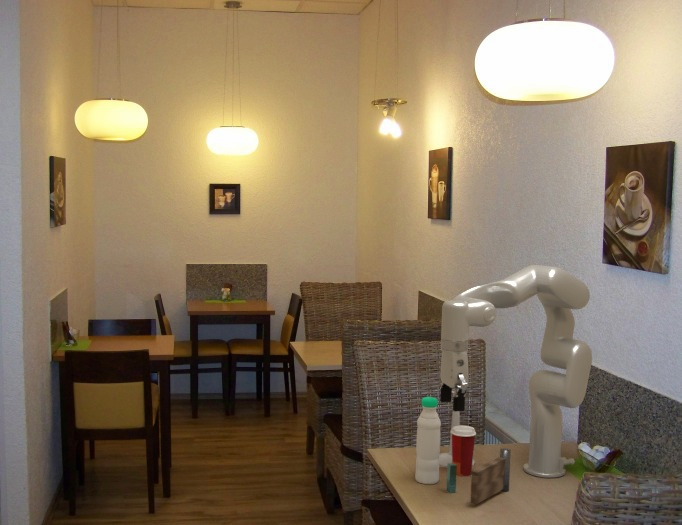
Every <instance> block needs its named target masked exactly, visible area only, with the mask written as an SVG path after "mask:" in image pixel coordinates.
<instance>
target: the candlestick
mask: <svg viewBox="0 0 682 525" xmlns="http://www.w3.org/2000/svg"><path fill="white" fill-rule="evenodd" d="M455 386H458V385H455ZM458 390H459V389H457V392H458ZM453 397H455V395H454V390H452V398H453ZM451 414H452V415H451V416H452V417H451V427H450V430H451V429H452V428H453V427H454V426H461V411H453V410H452V413H451ZM449 439H450V440H449V448H448V451H447V452H442V453H440V454H439V461H440V464H439V467H441V468H446V469H447V463H452V433H450V438H449ZM475 464H476V463H475V459H473V461H472V468H473V467H474V466H475Z"/></svg>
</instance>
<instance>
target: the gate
mask: <svg viewBox="0 0 682 525" xmlns="http://www.w3.org/2000/svg"><path fill="white" fill-rule="evenodd" d="M504 462H505V458H500V456H498V457H497V458H494V459H492V460H491V461H489V462H487V463H485V464H482V465H481V466H479V467H476V468H474V469H472V470H471V475H470V476H471V479H470V480H471V485H470V504H472V505H477V504H479V503H481V502H482V501H485V500H486V499H488V498H490V497H491V496H494V495H496V494H497V493H499V492H501V490H503V484H504Z"/></svg>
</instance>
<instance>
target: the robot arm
mask: <svg viewBox="0 0 682 525" xmlns="http://www.w3.org/2000/svg"><path fill="white" fill-rule="evenodd" d="M534 296H537V299H538V300H539V302H540V304H541V305H542V308H543V309H544V311H545V315H546V322H545V323H546V324H545V330H544V334H543V338H542V344H541V348H540V359H541V361H542V362H543V364H545V365H547V366H550V367H553V368H557V369H561V370H566V371H565V373H561V372H557V371H553V370H549V369H540V370H536V371H535V372H533V373H532V375H531V376H530V377H529V381H528V393H529V398H530V422H529V423H530V426H529V427H530V428H529V447H528V448H529V449H528V451H529V453H528V462H526V463H524V464H523V468H522V469H523V471H524V472H525V473H526V474H528V475H531V476H534V477H538V478H546V479H547V478H548V479H550V478H560V477H563V476H564V475H566V469H565V468H564V467H566V466H574V465H575V462H576V461H575V459H574V458H567V457H566V456H562V454H561V453H562V433H563V432H562V431H563V413H562V409H561V407H564V408H569V409H576V408H578V407H579V406H581V405H582V404H583V401H584V399H585V396H586V393H587V389H588V382H589V379H590V372H591V369H592V363H593V353H592V349H591V348H590V346H589V345H588V343H586V342H584V341H582V340H579V339H574V331H575V324H576V323H575V322H576V321H575V318H574V314H573V312H572V310H576V311H577V310H581V309H583V308H585V307H586V306H587V305H588V303H589V301H590V290H589V287H588V286H587V284H586V283H585V282H584V281H582V280H580V279H579V278H577V277H576V276H574V275H573V274H571V273H570V272H568V271H566V270H565V269H562V268H560V267H558V266H550V265H541V264H531V265H528V266H525V267H523V268H522V269H520V270H518V271H516V272H515V273H512V274H511V275H509V276H507V277H505V278H502V279H501V280H497V281H494V282H489V283H487V284H486V283H485V284H482V285H478V286H473V287H472V288H469V289H467V290H464V291H463V292H461V293H459V294H458V295H456V296H455V297H454V298H453V299H452V300H446V301H444V302H443V304H442V307H441V329H440V330H441V332H440V351H441V360H440V371H439V374H440V378H439V380H440V385H439V386H440V391H439V392H440V393H439V394H440V396H439V402H440V403H451V402H452V412H453V411H460V412H464V411H465V410H466V409H465V406H466V405H465V404H466V395H467V389H468V387H469V358H468V356H469V355H468V352H469V336H470V335H469V334H470V333H469V332H470V327H478V328H484V327H489V326H490V325H492V324H493V323H494V321H495V320H496V317H497V309H508V308H512V307H513V308H514V307H517V306H518V305H520V304H522V303H523V302H526V301H527V300H529V299H530V298H533V297H534ZM455 385H458V386H455ZM457 389H459V390H458V392H457ZM452 391H454V395H455V397H453V393H452ZM560 406H561V407H560Z"/></svg>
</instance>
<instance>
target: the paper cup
mask: <svg viewBox="0 0 682 525" xmlns="http://www.w3.org/2000/svg"><path fill="white" fill-rule="evenodd" d="M449 432H450V434H451V433H452V463H455V464H456V465H457V473H456V477H469V476H472V475H471V471H472V470H473V467H472V461H473V460H474V458H473V457H474V451H475V450H474V449H475V441H476V440H475V439H476V435H477V432H476V429H475V428H474V427H473V426H469V425H460V426H454V427H453V428H452V429H451V428H450V431H449Z"/></svg>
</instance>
